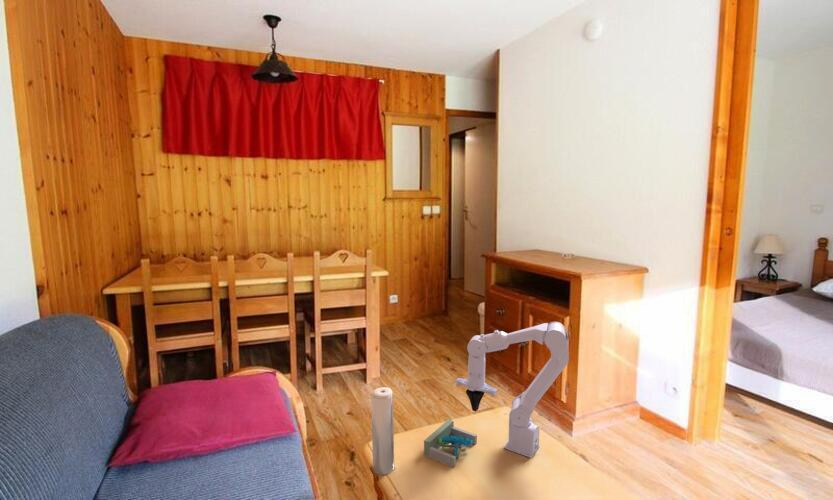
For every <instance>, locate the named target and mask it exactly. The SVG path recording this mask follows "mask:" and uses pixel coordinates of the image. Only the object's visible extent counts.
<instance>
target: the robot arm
mask: <svg viewBox="0 0 833 500" xmlns="http://www.w3.org/2000/svg"><path fill="white" fill-rule="evenodd" d="M528 341H529V342H530V341H534V342H537V343H538V344H540V345H545V346H546V347H547V349H548V350H549V351H550V354H551V357H550V358H549V359H548V361H547V362H546V363H545V364H544V366H543V367H542V369H540V371H539V373H538V374H537V375H536V376H535V377H534V379H533V380H532V382H531V383H530V384H529V385H528V387H527V388H526V390H524V391H523V392H522V393H520V395H518V396H516V397H514V398H513V400H512V403H511V407H510V408H511V409H510V412H509V413H508V414H509V415H508V416H509V417H508V441H507V442H506V443H505V444H504V445H503V448H504V449H506V450H509V451H511V452H513V453H516V454H519V455H523V456H525V457H528V458H530V459H531V458H533V456H534V455H535V454H536V452H537V450H538V449H539V447H540V427H539V426H538V425H536V424H534V423H533V421H532V418H531V416H532V414H533V412H534V410H535V408H536V406H537V403H538V402H539V401H540V400H541V399H542V397H543V396H544V395H545V394H546V392H547V391H548V389H550V387H552V385H553V383H554V382H555V381H556V379H557V378H559V377H558V376H559V375H560V374H561V373H562V372H563V370H564V369H565V368H566V366H567V365H568V364H569V361H570V352H569V349H570V348H569V335H568V332H567V329H566V328H565V326H564V324H562V323H561V322H559V321H551V322H549V323H548V322H545V323H541V324H538V325H534V326H531V327H526V328H523V329H519V330H516V331H512V332H509V333H508V332H505V331H503V330H501V331H499V329H496V330H494V331H493V332H492V333H487V334H484V333H482V334H480V335H479V334H477V335H473V336H472V337H471V339H470V340H469V342H467V343H468V344H467V347H466V350H467V352H468V358H467V359H468V361H467V378H461V377H458V378H457V379H455V385H456V386H461V387H466V388H467V390H466V391H465V393H466V396H467V398H468V399H469V401H470V402H469V403H470V405H471V406H470V407H471V410H472V411H473V412H477V411H479V408H480V404H481V402H482V399H483V396H484V395H485V394H489V395H491V396H492V397H497V395H498V388H496V387H492V386H491V385H489V384H488V383H486V353H492V352H497V351H502V350H506V349H508V348H509V346H510V345H513V344H518V343H523V342H528Z"/></svg>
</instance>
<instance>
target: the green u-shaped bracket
mask: <svg viewBox="0 0 833 500" xmlns="http://www.w3.org/2000/svg"><path fill="white" fill-rule="evenodd" d="M454 423H455V422H454V420H452V419H447V420H446V421H445V422H444V423H443V424H442V425H440V426H439V427H438V428H437V429H436V430H434V431H433V432H432V433H431V434H429V436H428V437H426V438H425V439H424V440H423V456H425V457H428V458H430V459H433V460H435V461H438V462H440V463H442V464H444V465H447V466H450V467H452V468H455V467H456V466H457V462H456V461H457V458H456V456H455V455H453V454H451V453H448V452H446V451H444V452H443V451H442V449H440V448H442V447H441V444H442V443H438V440H439V438H441V439H442V437H445V436H450V437H452V436H456V437H458V438H459V436H462V437H463V439H465V438H469V440H472V445H475V446H476V445H477V443H478V435H477V434H475V433H472V432H469V431H467V430H465V429H462V428H459V427H456V426H455V425H454Z"/></svg>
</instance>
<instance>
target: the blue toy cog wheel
mask: <svg viewBox="0 0 833 500" xmlns="http://www.w3.org/2000/svg"><path fill="white" fill-rule="evenodd" d="M438 443H442V444H441V447H440V448H441V451H443V452H445V448H454V456H456V459H457V458H458V457H459V448H460V447H462V446H463V447H469V446H472V445H473V444H472V440H469V438H465V439H463V437H462V436H459V438H458V437H456V436H451V437H450V436H445V437H442V439H441V438H439V440H438Z"/></svg>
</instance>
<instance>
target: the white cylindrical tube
mask: <svg viewBox="0 0 833 500" xmlns="http://www.w3.org/2000/svg"><path fill="white" fill-rule="evenodd" d="M370 396H371V397H370V398H371V433H372V435H371V438H372V439H371V442H372V471H373V473H375V474H377V475H379V476H386V475H389V474H391V473H393V471H394V469H395V441H394V439H395V437H394V435H395V433H394V432H395V431H394V424H395V423H394V393H393V390H392V388H390V387H386V386H385V387H384V386H383V387H378V388H377V387H376V389H374V390H373V393H372V394H371V395H370Z"/></svg>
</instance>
